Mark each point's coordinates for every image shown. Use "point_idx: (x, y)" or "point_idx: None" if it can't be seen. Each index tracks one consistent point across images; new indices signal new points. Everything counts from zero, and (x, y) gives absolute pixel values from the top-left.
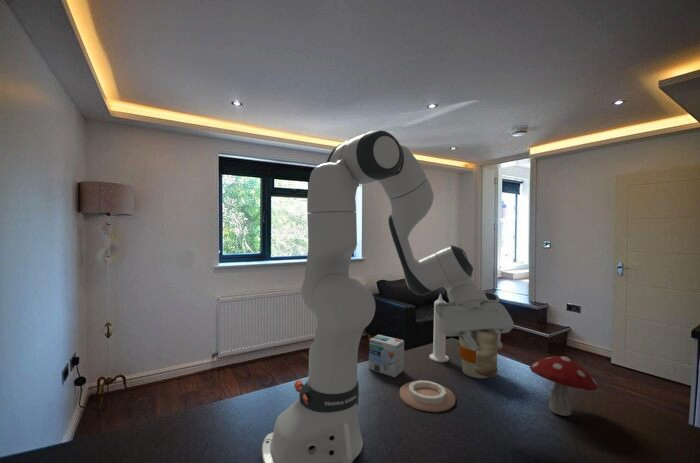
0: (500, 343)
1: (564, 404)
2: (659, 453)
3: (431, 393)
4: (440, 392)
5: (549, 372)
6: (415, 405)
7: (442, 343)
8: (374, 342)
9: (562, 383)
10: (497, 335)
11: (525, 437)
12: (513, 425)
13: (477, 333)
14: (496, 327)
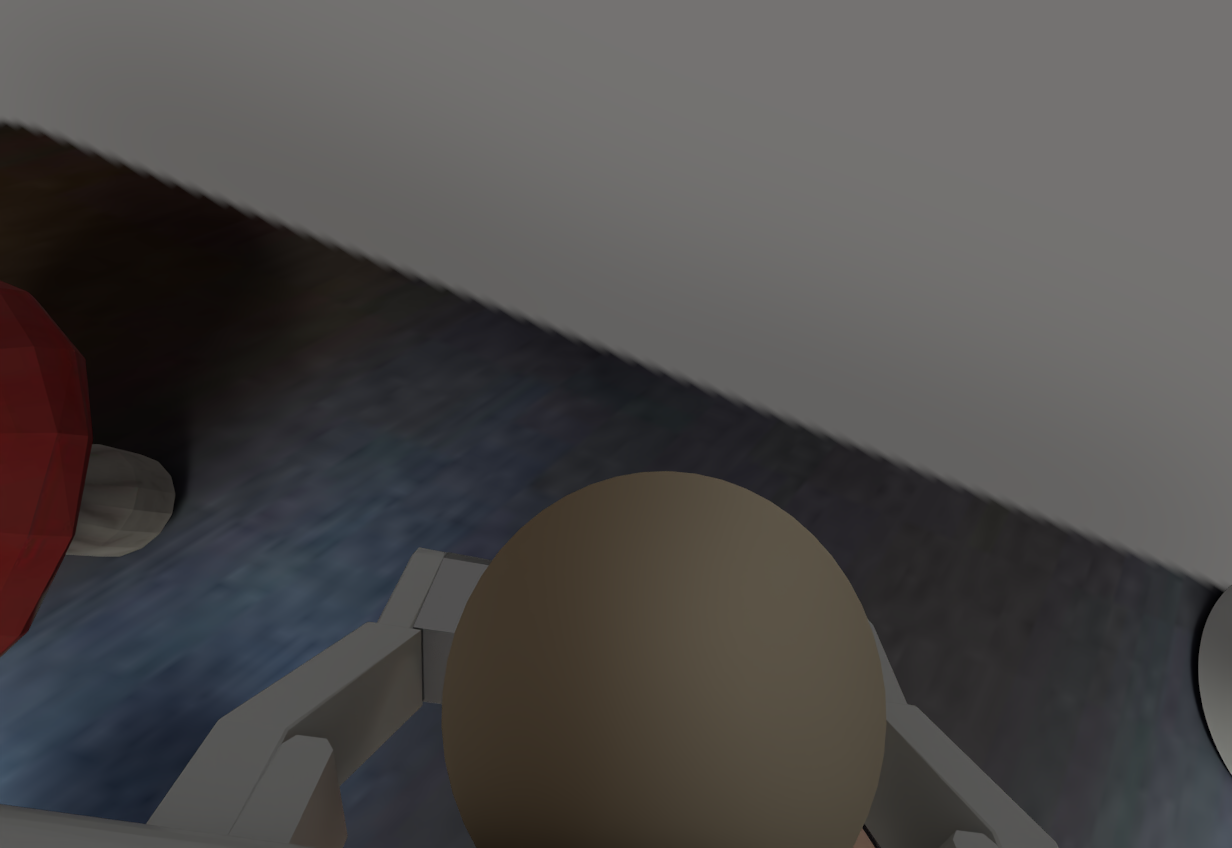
0: (426, 574)
1: (112, 452)
2: (95, 173)
3: None
4: None
5: (18, 449)
6: (871, 845)
7: None
8: None
9: (77, 358)
10: (554, 505)
11: (505, 433)
12: (476, 517)
13: (880, 771)
14: (208, 846)
